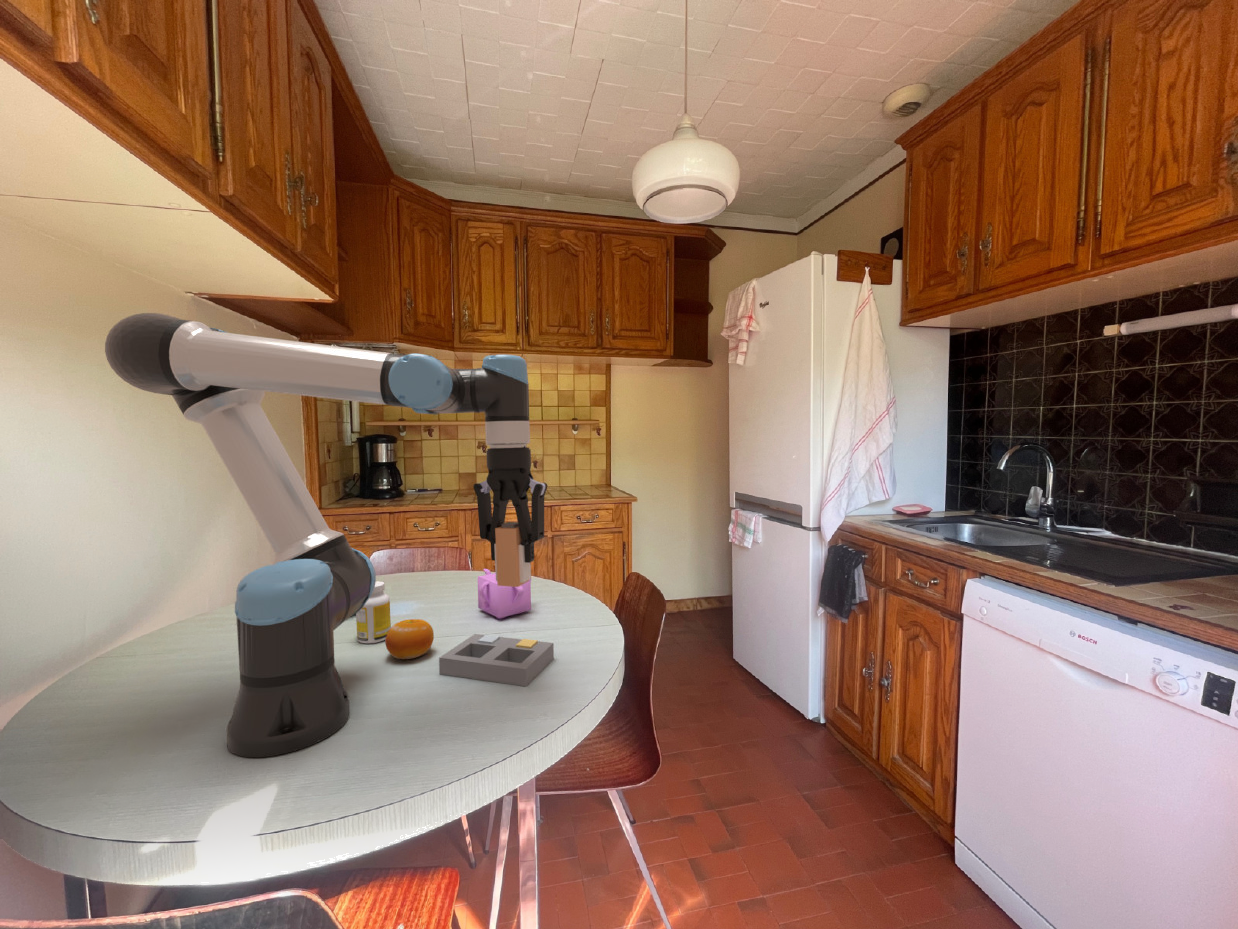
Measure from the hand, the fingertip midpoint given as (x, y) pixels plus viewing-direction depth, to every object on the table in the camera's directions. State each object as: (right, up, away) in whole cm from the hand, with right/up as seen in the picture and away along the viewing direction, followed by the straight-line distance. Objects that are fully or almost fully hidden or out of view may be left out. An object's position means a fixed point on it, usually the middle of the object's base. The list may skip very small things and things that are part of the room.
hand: (513, 579), depth 92 cm
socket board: (-4, -17, +4) cm, 18 cm away
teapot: (-9, -16, +35) cm, 39 cm away
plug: (0, -1, 0) cm, 1 cm away
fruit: (-22, -17, +10) cm, 29 cm away
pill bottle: (-33, -17, +18) cm, 41 cm away
